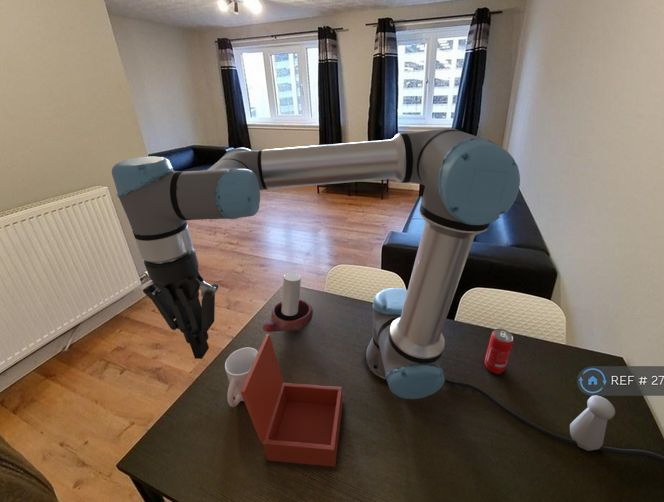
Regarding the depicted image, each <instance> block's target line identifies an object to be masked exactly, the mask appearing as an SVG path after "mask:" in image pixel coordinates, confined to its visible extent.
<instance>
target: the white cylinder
mask: <svg viewBox="0 0 664 502" xmlns="http://www.w3.org/2000/svg"><path fill="white" fill-rule="evenodd" d="M301 282H302V276H301V274H299V273H296V272H288V273H286V274H284V275H283V282H282V294H281V296H282V297H281V302H282V307H281V312H282V314H284V315H287V316H293V315H296V314H297V313H298V306H299V299H300V295H301V294H300V293H301Z"/></svg>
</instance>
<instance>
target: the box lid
mask: <svg viewBox="0 0 664 502" xmlns="http://www.w3.org/2000/svg"><path fill="white" fill-rule="evenodd" d="M273 345H274V344H273V342H272V339H271V335H270V334H265V336H264V339H263V341H262V343H261V345H260V347H259V349H258V350H257V351H258V354H257V356H256V358H255V360H254V363H253V365H252V367H251V369H250V372H249V374H248V376H247V378H246V381H245V383H244V385H243V387H242V389H241V395H242V397H243V400H244V401H243V402H244V404H245V407H246V410H247V412H248V415H249V418H250V420H251V422H252V425H253V427H254V430H255V432H256V434H257V436H258V440H259V443H263V442H264V440H265V437H266V434H267V431H268V428H269V425H270V422H271V418H272V415H273V412H274V409H275V406H276V403H277V400H278V397H279V393H280V390H281V387H282V384H283V383H284V378H283V375H282V372H281V369H280V365H279V362H278V358H277V356H276V352H275V349H274V346H273Z"/></svg>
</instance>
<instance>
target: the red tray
mask: <svg viewBox="0 0 664 502" xmlns="http://www.w3.org/2000/svg"><path fill="white" fill-rule="evenodd" d="M343 401H344V400H343V387H342V386H331V385H330V386H329V385H316V384H303V383H302V384H301V383H289V382H283V384H282V387H281V390H280V393H279V397H278V400H277V403H276V406H275V409H274V412H273V415H272V418H271V422H270V425H269V428H268V431H267V434H266V437H265V440H264V442H262V447H263V451H264V455H265V458H266V461H273V462H283V463H291V464H292V463H294V464H302V465H313V466H325V467H336V464H337V463H336V462H337V455H338V445H339V439H340V429H341V420H342V414H343V413H342V412H343V404H344V402H343Z"/></svg>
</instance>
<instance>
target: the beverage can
mask: <svg viewBox="0 0 664 502" xmlns="http://www.w3.org/2000/svg"><path fill="white" fill-rule="evenodd" d="M513 344H514V336H513V334H512V333H511V332H509V330H507V329H504V328H495V329H494V330H493V331H492V332H491V335H490V338H489V344H488V346H487V350H486V354H485V358H484V364H485V368H486V369H487V370H488V371H489V372H490V373H492V374H495V375H500V374H502V373H503V372H504V371H505V370H506V367H507V364H508V360H509V357H510V354H511V351H512V348H513Z"/></svg>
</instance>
